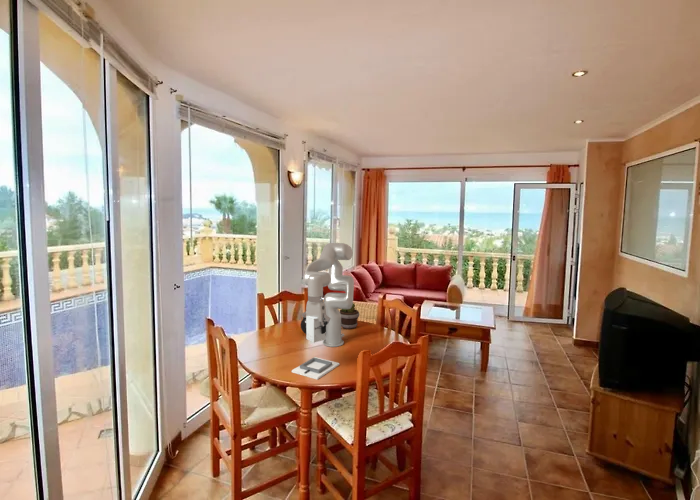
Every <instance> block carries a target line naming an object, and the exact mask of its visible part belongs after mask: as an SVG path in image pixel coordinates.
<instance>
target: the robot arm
mask: <svg viewBox="0 0 700 500" xmlns="http://www.w3.org/2000/svg"><path fill="white" fill-rule="evenodd" d="M352 257H353V249H352V247H351V245H349V244H347V243H344V242H343V243H342V242H328V243H326V244H325V245H324V246H323V249H322V251H321V254H320V256H319V258H317V259H315V260H314V261H312V262H311V263H309V264H308V265H307V267H306V269H305V272H304V274H303V279H302V280H303V283H304V285H306V286H307V302H306V305H305V306H306V307H305V312H302V313H301V316H302V320H303V319H304V321H305V323H306V316H310V317H316V318H318V321H319V322H320V323H321V325H322V326H321V334H324V333H325V340H322V344H323V345H324V346H326V347H329V348H330V347H331V348H336V347H341V346H343V345H344V344H345V342H344V340H343V339H342V338H344V337H345V334H344V333H342V326H341V314H340V310H341V309H351V308H352V305H353V301H354V292H355V290H354V289H355V288H354V287H355V282H354V280H355V279H354V277H352V276H351V275H347V274H346V275H344V274H343V269H344V267H343V264H342V263H341V262H340V261H350V260H351V259H352ZM326 270H328V272H326ZM324 287H328V289H329V290H330V291H339V292H327V293H326V294H325V295H324ZM340 291H341V292H340ZM323 317H324V318H325V319H323ZM322 319H323V320H322ZM325 320H326V321H325Z"/></svg>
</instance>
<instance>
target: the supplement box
mask: <svg viewBox="0 0 700 500" xmlns="http://www.w3.org/2000/svg"><path fill="white" fill-rule="evenodd" d="M323 319H325V318H324V317H323ZM323 319H322V320H323ZM321 326H322V325H321V323H320V322H319V321H318V318H316V317H310V316H306V334H305V335H306V336H305V337H306V340H307V341H310V342H311V343H314V344H315V343H317V342H323V341H324V340H326V333H324V334H321Z"/></svg>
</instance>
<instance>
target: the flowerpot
mask: <svg viewBox="0 0 700 500" xmlns="http://www.w3.org/2000/svg"><path fill="white" fill-rule="evenodd" d="M339 312H340V314H341V329H344V330H345V329H346V330H354V329H356V328H357V326H358V319H359V317H360V312H359V311H358V309H356V304H355V302H354V300H353V305H352V308H351V309H339Z"/></svg>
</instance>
